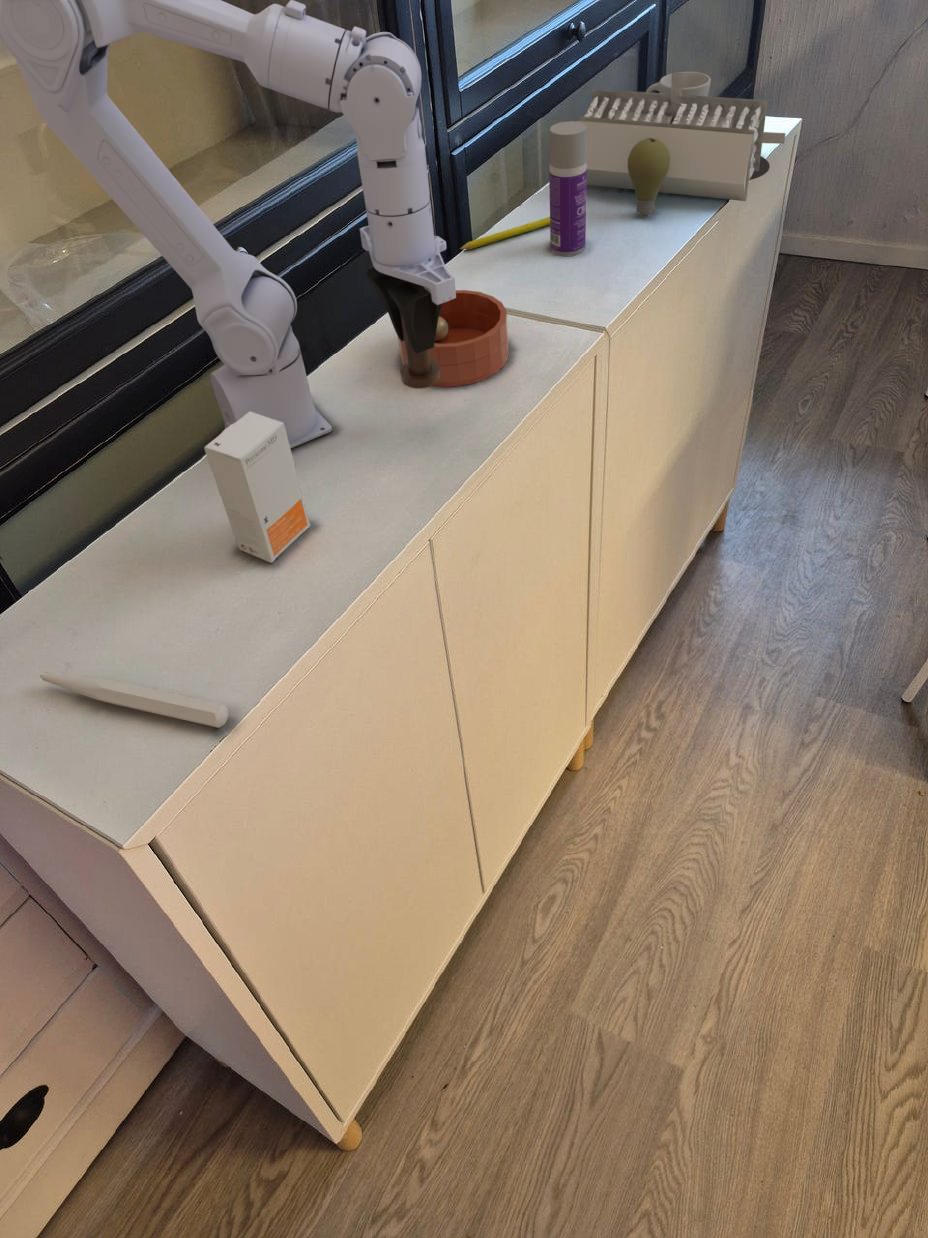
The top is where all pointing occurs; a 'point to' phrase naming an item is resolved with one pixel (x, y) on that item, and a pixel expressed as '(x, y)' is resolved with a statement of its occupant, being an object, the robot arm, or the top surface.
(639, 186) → the light bulb
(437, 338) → the bead
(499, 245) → the top surface
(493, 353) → the bowl
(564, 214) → the container
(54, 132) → the robot arm
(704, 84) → the cup
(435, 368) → the pestle
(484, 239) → the pencil
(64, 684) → the tool
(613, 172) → the miniature building
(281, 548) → the cosmetic box
